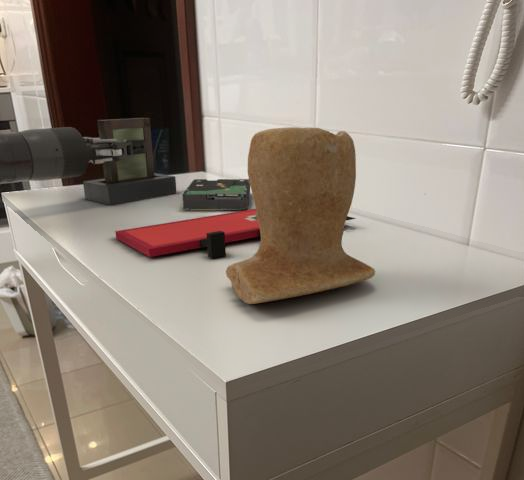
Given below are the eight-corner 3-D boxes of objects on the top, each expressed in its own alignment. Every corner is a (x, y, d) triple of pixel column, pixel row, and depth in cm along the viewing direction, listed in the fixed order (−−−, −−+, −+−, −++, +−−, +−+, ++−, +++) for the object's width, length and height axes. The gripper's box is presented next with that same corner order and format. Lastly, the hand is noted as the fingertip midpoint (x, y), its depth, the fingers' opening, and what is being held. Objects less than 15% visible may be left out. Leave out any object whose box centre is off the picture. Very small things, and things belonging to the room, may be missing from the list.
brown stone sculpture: (319, 260, 64) (324, 119, 57) (390, 290, 55) (406, 126, 48) (198, 283, 57) (189, 125, 51) (257, 321, 48) (254, 135, 41)
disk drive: (193, 194, 102) (183, 211, 88) (192, 179, 100) (181, 192, 87) (250, 194, 102) (248, 210, 88) (250, 178, 100) (248, 192, 87)
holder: (85, 199, 98) (82, 181, 97) (151, 188, 107) (149, 172, 106) (110, 205, 93) (107, 186, 92) (176, 193, 102) (175, 176, 101)
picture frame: (112, 189, 96) (104, 120, 91) (105, 188, 97) (97, 120, 92) (155, 183, 101) (149, 118, 97) (148, 182, 103) (142, 117, 98)
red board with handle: (365, 227, 76) (300, 210, 88) (366, 206, 75) (300, 192, 87) (163, 268, 62) (116, 241, 73) (160, 243, 61) (113, 220, 72)
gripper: (68, 130, 81) (163, 124, 93) (24, 126, 90) (116, 121, 101) (76, 183, 84) (167, 171, 96) (33, 175, 93) (121, 164, 104)
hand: (140, 145), depth 98 cm, fingers closed on picture frame, 2 cm apart
